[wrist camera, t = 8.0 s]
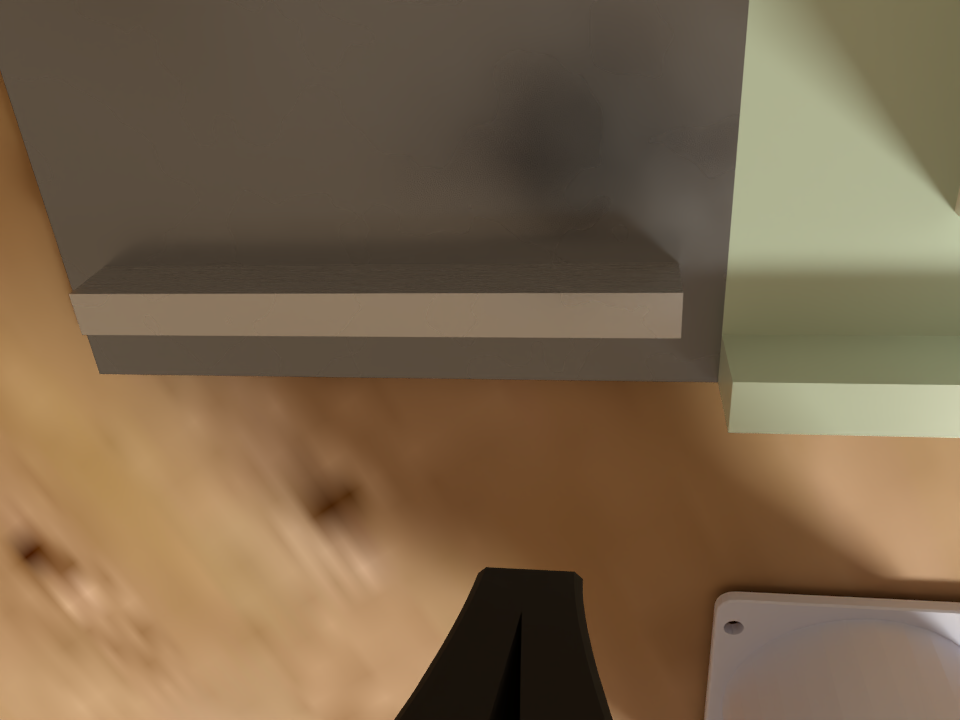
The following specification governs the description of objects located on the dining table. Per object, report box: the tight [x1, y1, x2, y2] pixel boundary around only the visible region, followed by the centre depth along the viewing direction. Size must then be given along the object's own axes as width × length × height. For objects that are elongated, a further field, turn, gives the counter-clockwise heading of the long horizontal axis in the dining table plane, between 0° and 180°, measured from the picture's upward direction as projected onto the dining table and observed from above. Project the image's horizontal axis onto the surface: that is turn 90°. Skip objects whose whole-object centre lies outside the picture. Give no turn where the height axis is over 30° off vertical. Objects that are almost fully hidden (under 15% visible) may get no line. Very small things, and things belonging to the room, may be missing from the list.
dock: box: [0, 0, 749, 382], centre depth 17 cm, size 12×15×2 cm
